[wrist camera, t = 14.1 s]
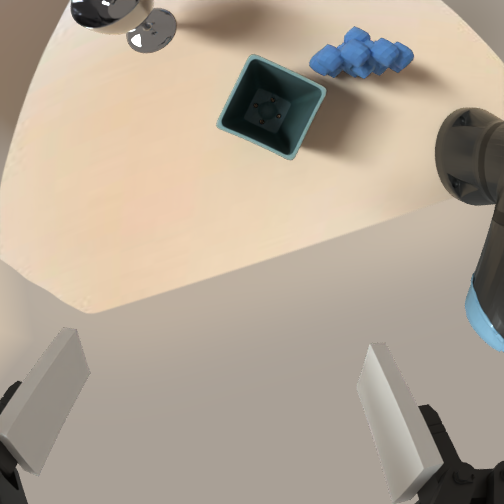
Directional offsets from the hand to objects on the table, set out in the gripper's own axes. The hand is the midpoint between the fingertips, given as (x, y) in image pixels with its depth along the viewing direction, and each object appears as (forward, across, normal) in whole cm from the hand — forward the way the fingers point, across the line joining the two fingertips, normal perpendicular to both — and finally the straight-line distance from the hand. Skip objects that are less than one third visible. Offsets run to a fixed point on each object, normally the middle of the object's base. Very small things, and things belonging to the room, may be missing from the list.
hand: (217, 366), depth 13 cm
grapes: (+32, -13, -20) cm, 40 cm away
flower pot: (+32, -3, -12) cm, 34 cm away
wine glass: (+32, +13, -24) cm, 42 cm away
